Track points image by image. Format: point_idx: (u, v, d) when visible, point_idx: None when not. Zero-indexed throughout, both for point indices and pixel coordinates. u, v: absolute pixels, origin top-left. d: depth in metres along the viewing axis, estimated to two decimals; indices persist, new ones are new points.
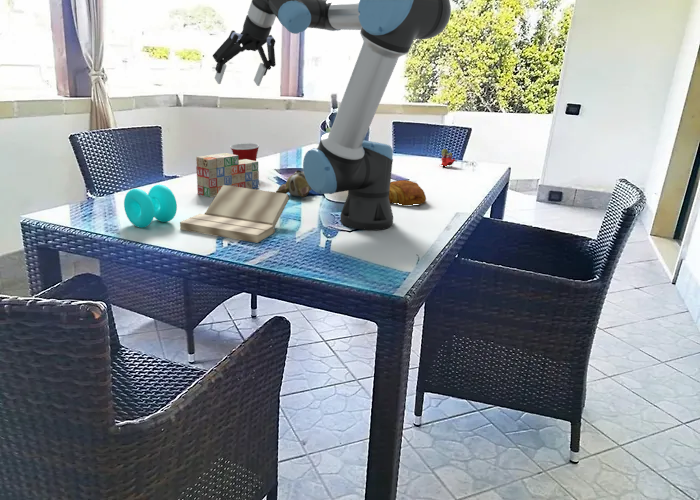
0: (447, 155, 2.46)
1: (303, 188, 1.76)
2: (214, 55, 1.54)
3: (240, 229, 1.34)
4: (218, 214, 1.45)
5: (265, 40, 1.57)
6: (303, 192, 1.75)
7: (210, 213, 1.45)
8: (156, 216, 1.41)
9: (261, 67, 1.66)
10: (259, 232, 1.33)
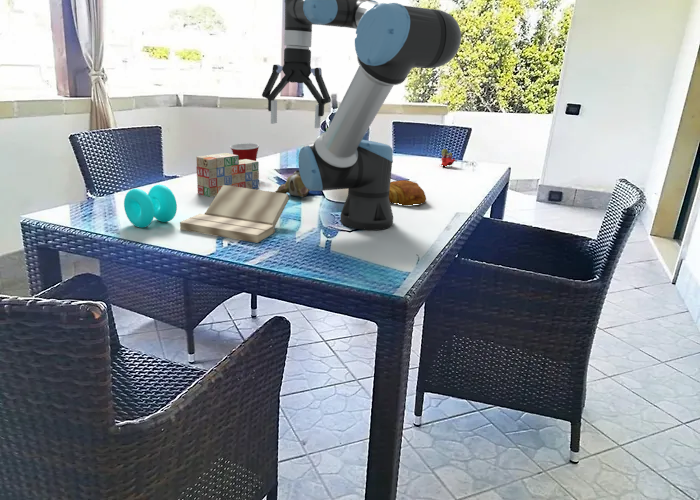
0: (447, 155, 2.46)
1: (303, 188, 1.76)
2: None
3: (240, 229, 1.34)
4: (218, 214, 1.45)
5: (307, 69, 1.49)
6: (303, 192, 1.75)
7: (210, 213, 1.45)
8: (156, 216, 1.41)
9: None
10: (259, 232, 1.33)
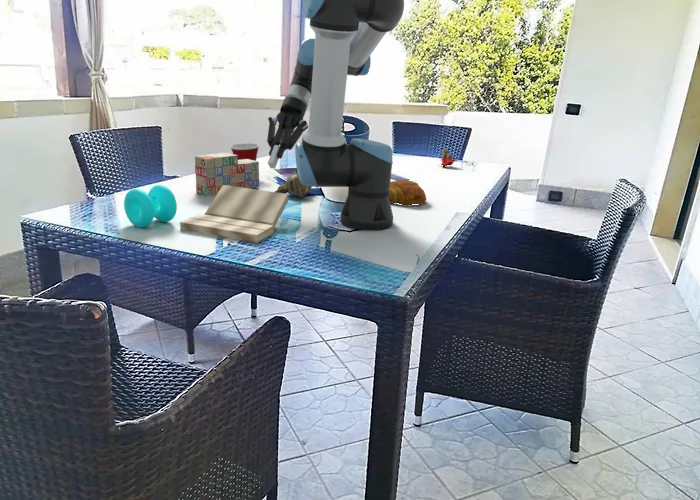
0: (447, 155, 2.46)
1: (302, 188, 1.76)
2: None
3: (240, 229, 1.34)
4: (218, 214, 1.45)
5: (299, 117, 1.63)
6: (302, 192, 1.75)
7: (210, 213, 1.45)
8: (156, 216, 1.41)
9: None
10: (259, 232, 1.33)
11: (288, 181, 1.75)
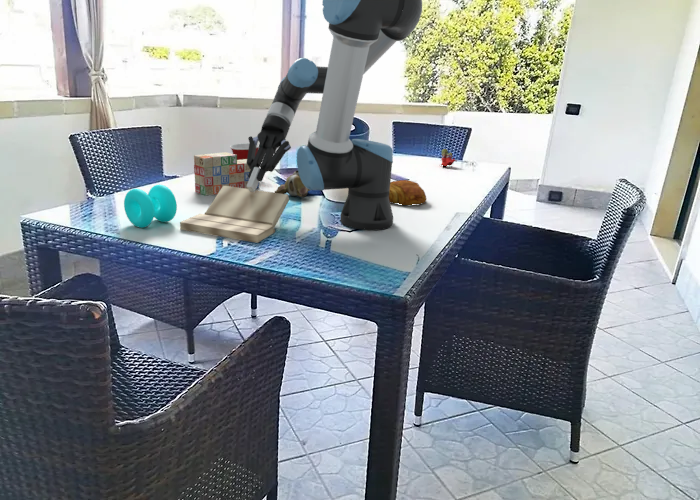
0: (447, 155, 2.46)
1: (302, 188, 1.75)
2: None
3: (240, 229, 1.34)
4: (218, 214, 1.45)
5: (281, 136, 1.53)
6: (302, 192, 1.75)
7: (210, 213, 1.45)
8: (156, 216, 1.41)
9: None
10: (259, 232, 1.33)
11: (288, 181, 1.75)
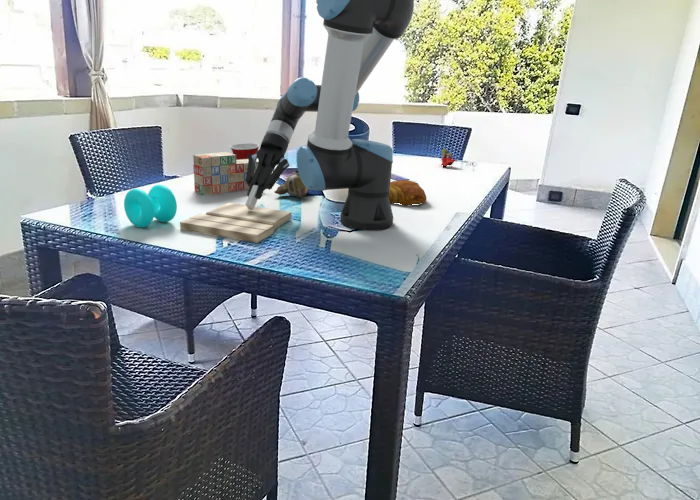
0: (447, 155, 2.46)
1: (302, 188, 1.75)
2: None
3: (240, 229, 1.34)
4: (220, 214, 1.46)
5: (280, 154, 1.54)
6: (302, 192, 1.75)
7: (212, 212, 1.47)
8: (156, 216, 1.41)
9: None
10: (259, 232, 1.33)
11: (287, 181, 1.75)
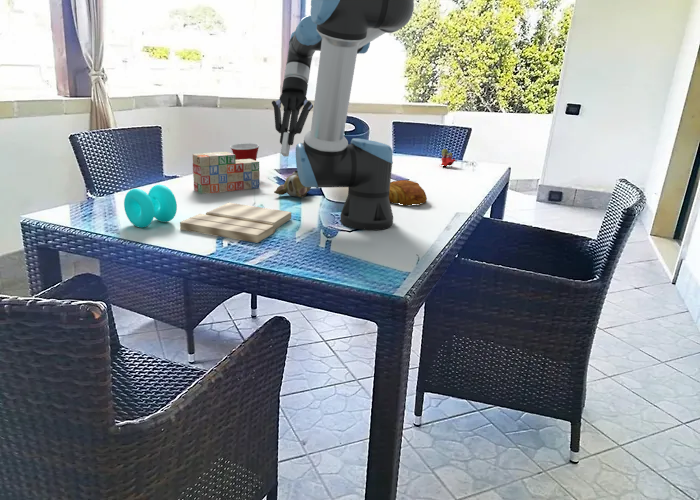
0: (447, 155, 2.46)
1: (301, 188, 1.75)
2: None
3: (240, 229, 1.34)
4: (220, 214, 1.46)
5: (303, 97, 1.61)
6: (301, 193, 1.75)
7: (212, 212, 1.47)
8: (156, 216, 1.41)
9: None
10: (259, 232, 1.33)
11: (287, 181, 1.75)
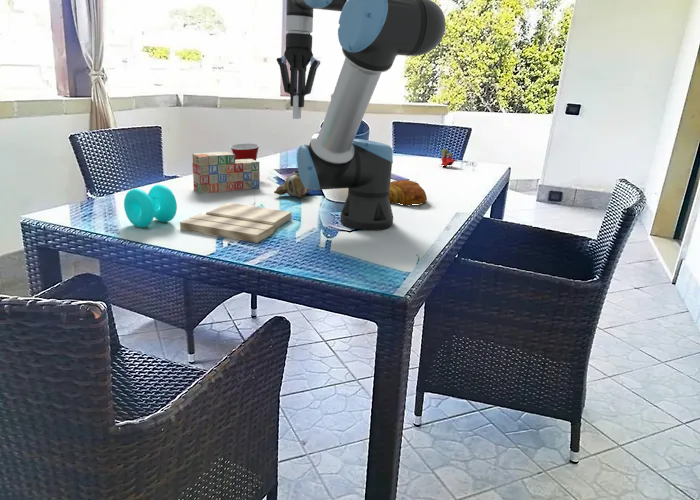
0: (447, 155, 2.46)
1: (301, 189, 1.75)
2: None
3: (240, 229, 1.34)
4: (220, 214, 1.46)
5: (308, 55, 1.52)
6: (301, 193, 1.75)
7: (212, 212, 1.47)
8: (156, 216, 1.41)
9: None
10: (259, 232, 1.33)
11: (287, 181, 1.75)
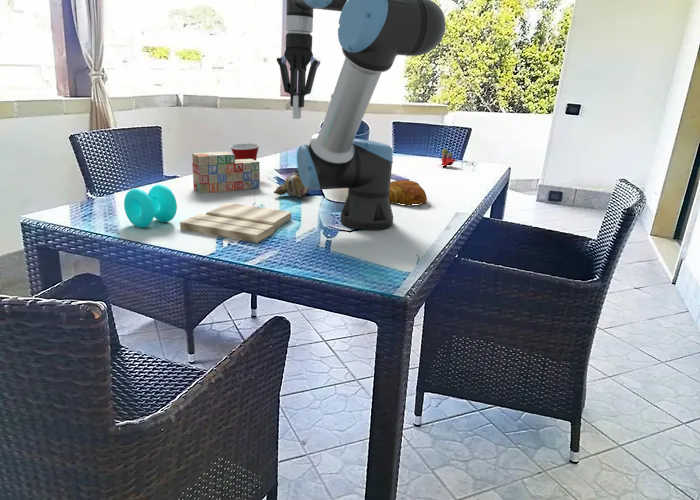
0: (447, 155, 2.46)
1: (301, 189, 1.75)
2: None
3: (240, 229, 1.34)
4: (220, 214, 1.46)
5: (308, 55, 1.52)
6: (301, 193, 1.74)
7: (212, 212, 1.47)
8: (156, 216, 1.41)
9: None
10: (259, 232, 1.33)
11: (287, 181, 1.75)
